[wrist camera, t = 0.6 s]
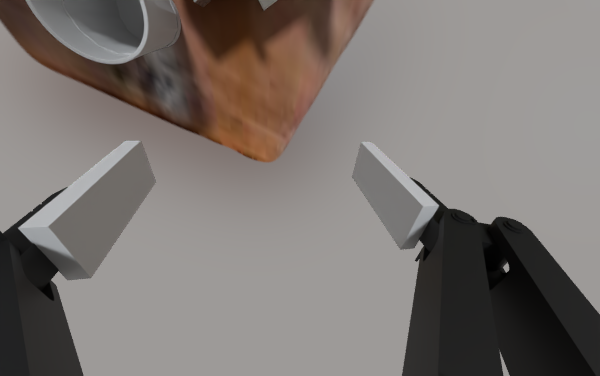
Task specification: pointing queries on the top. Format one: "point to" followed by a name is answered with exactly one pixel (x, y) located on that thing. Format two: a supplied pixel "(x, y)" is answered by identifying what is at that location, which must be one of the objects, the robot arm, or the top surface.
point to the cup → (110, 26)
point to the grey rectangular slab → (202, 2)
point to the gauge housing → (266, 3)
